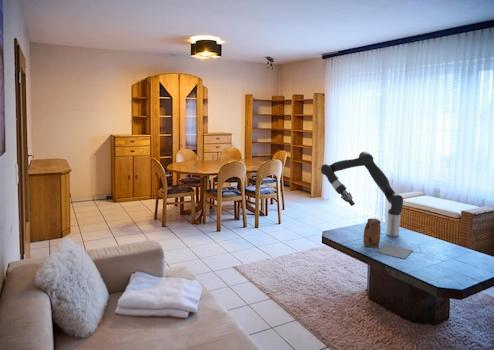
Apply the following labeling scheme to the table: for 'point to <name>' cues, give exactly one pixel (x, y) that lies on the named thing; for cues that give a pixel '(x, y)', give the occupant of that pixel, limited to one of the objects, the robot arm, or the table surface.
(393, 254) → the mat
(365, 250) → the table surface
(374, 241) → the rough sandstone rock
